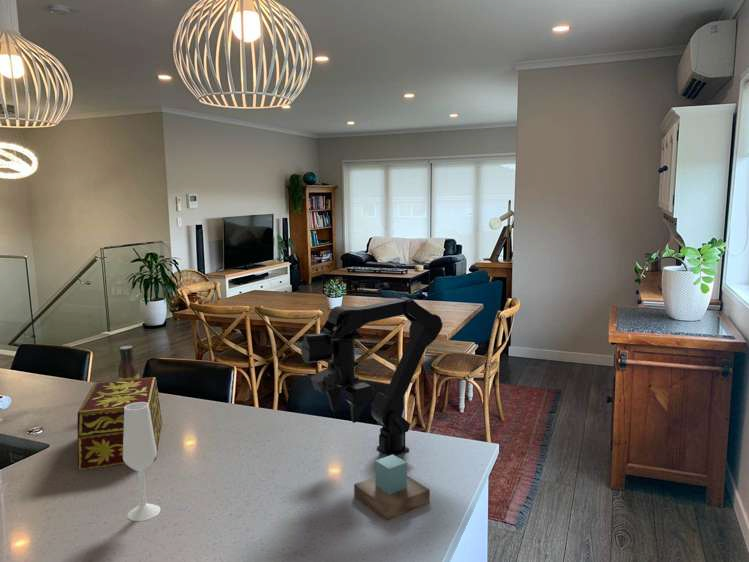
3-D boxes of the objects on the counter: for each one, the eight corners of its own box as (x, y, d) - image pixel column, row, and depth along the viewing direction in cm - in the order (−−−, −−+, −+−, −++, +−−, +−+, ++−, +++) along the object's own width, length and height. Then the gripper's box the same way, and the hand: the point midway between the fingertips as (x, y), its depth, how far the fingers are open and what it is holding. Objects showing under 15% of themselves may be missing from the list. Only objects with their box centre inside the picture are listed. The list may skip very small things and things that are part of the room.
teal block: (392, 479, 129) (392, 454, 128) (406, 487, 125) (406, 462, 124) (375, 485, 126) (375, 460, 125) (389, 494, 122) (389, 468, 121)
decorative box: (95, 430, 167) (91, 381, 165) (162, 422, 173) (159, 375, 171) (77, 471, 141) (72, 414, 139) (156, 460, 147) (152, 405, 145)
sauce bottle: (138, 400, 192) (134, 343, 189) (145, 404, 187) (141, 346, 185) (118, 404, 188) (113, 346, 185) (124, 409, 183) (120, 350, 180)
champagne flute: (163, 502, 126) (156, 399, 122) (157, 519, 119) (149, 410, 116) (131, 505, 124) (123, 401, 121) (123, 522, 118) (115, 412, 115)
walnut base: (395, 481, 134) (395, 469, 134) (429, 502, 125) (429, 489, 124) (354, 496, 127) (354, 484, 127) (386, 520, 118) (386, 506, 117)
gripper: (297, 354, 144) (298, 413, 146) (335, 371, 129) (337, 436, 131) (334, 347, 150) (335, 404, 152) (375, 363, 135) (375, 425, 138)
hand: (344, 416), depth 143 cm, fingers open, 9 cm apart
